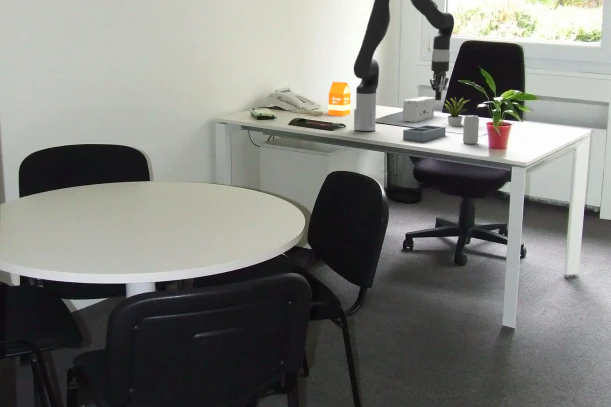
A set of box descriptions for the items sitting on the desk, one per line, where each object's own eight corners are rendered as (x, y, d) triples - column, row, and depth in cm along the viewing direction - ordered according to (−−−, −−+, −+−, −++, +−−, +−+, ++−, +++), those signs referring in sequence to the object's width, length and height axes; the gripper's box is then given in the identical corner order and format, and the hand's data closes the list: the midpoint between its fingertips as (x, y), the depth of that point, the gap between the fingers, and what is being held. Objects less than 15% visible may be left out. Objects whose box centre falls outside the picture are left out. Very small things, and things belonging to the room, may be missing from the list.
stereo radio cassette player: (421, 121, 414) (422, 82, 409) (435, 122, 409) (437, 83, 404) (401, 126, 397) (403, 85, 392) (416, 127, 392) (417, 86, 388)
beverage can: (477, 144, 343) (479, 117, 340) (462, 144, 345) (464, 116, 342) (477, 142, 349) (479, 115, 347) (462, 141, 351) (464, 114, 348)
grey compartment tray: (423, 142, 348) (423, 132, 347) (402, 140, 355) (403, 130, 354) (445, 137, 363) (445, 127, 362) (425, 134, 370) (425, 125, 369)
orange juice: (342, 122, 410) (343, 83, 405) (328, 121, 414) (328, 82, 409) (350, 120, 416) (351, 82, 411) (335, 119, 421) (336, 81, 416)
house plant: (470, 127, 393) (472, 94, 389) (473, 131, 380) (475, 97, 376) (441, 126, 395) (442, 93, 391) (443, 131, 381) (444, 96, 377)
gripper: (440, 58, 350) (437, 98, 354) (425, 60, 340) (422, 100, 344) (455, 59, 346) (453, 99, 350) (440, 61, 335) (438, 102, 340)
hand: (438, 100), depth 347 cm, fingers closed
